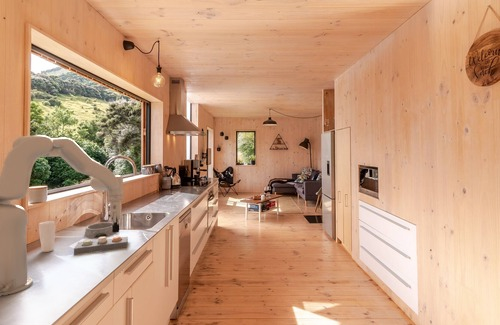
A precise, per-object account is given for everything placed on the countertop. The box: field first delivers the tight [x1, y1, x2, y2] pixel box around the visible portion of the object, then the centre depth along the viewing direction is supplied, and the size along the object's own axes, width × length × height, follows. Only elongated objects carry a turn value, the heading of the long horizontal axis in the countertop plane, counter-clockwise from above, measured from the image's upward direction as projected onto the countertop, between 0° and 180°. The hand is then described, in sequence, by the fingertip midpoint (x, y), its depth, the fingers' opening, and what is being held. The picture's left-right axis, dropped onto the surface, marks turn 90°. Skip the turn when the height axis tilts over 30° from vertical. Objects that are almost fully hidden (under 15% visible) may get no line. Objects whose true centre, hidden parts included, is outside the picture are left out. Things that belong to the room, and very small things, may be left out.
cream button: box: [97, 236, 108, 244], centre depth 142 cm, size 4×4×3 cm
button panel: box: [73, 236, 129, 255], centre depth 142 cm, size 10×24×3 cm, turn 112°
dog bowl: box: [83, 221, 117, 239], centre depth 168 cm, size 17×18×5 cm
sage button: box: [82, 239, 93, 246], centre depth 139 cm, size 4×4×3 cm
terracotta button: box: [112, 236, 121, 242], centre depth 144 cm, size 4×4×3 cm
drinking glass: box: [38, 220, 56, 253], centre depth 138 cm, size 7×7×15 cm
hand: (115, 231), depth 144 cm, fingers closed
